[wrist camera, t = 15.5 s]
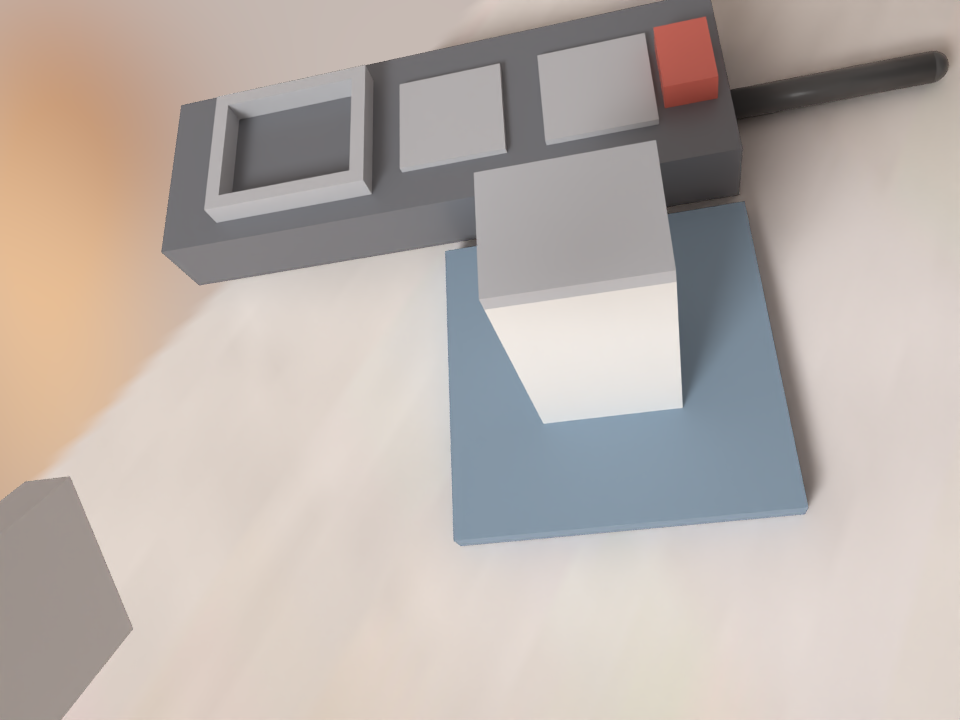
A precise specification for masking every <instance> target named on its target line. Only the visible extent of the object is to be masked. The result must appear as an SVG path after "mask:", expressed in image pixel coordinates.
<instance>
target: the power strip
mask: <svg viewBox="0 0 960 720" xmlns="http://www.w3.org/2000/svg"><path fill="white" fill-rule="evenodd" d="M948 65H949V64H948V59H947V57H946V56H945V55H944V54H943V53H941V52H938V51H930V52H924V53H919V54H914V55H909V56H904V57H898V58H893V59H888V60H883V61H878V62H873V63H867V64H862V65H857V66H852V67H847V68H841V69H836V70H831V71H826V72H821V73H816V74H810V75H805V76H800V77H795V78H790V79H784V80H779V81H774V82H769V83H764V84H758V85H753V86H748V87H743V88H738V89H733V90H730V88H729V83H728V78H727V74H726V69H725V64H724V60H723V55H722V50H721V45H720V41H719V36H718V31H717V27H716V22H715V17H714V13H713V8H712V3H711V0H664V1H660V2H655V3H651V4H646V5H641V6H637V7H632V8H628V9H623V10H618V11H614V12H609V13H605V14H600V15H595V16H591V17H586V18H581V19H577V20H572V21H568V22H563V23H558V24H554V25H549V26H545V27H540V28H535V29H531V30H526V31H522V32H517V33H512V34H508V35H503V36H499V37H494V38H489V39H485V40H480V41H476V42H471V43H466V44H462V45H457V46H452V47H448V48H443V49H439V50H434V51H429V52H425V53H420V54H416V55H412V56H406V57H402V58H397V59H393V60H388V61H384V62H379V63H374V64H370V65H362V66H358V67H353V68H349V69H344V70H339V71H335V72H330V73H326V74H321V75H316V76H312V77H307V78H303V79H298V80H294V81H289V82H284V83H280V84H275V85H270V86H266V87H261V88H256V89H252V90H247V91H243V92H239V93H233V94H229V95H224V96H219V97H217V98H213V99H208V100H204V101H199V102H195V103H190V104H185V105H182V106H181V112H180V119H179V127H178V134H177V141H176V148H175V156H174V163H173V170H172V178H171V185H170V193H169V200H168V207H167V215H166V222H165V230H164V237H163V244H162V253H163V254H164V255H165V256H166V257H167V258H169V259H170V260H171V261H172V262H173V263H174V264H175V265H177V266H178V267H179V268H180V269H181V270H182V271H183V272H185V273H186V274H187V275H188V276H189V277H190V278H191V279H193V280H194V281H195V282H196V283H197V284H198V285H204V284H210V283H216V282H222V281H228V280H234V279H240V278H246V277H252V276H258V275H264V274H270V273H276V272H281V271H287V270H293V269H299V268H305V267H311V266H317V265H323V264H329V263H335V262H341V261H347V260H353V259H359V258H365V257H371V256H377V255H383V254H389V253H394V252H400V251H406V250H412V249H418V248H424V247H430V246H436V245H442V244H448V243H454V242H460V241H466V240H472V239H476V216H475V191H474V173H475V172H480V171H486V170H491V169H497V168H503V167H508V166H514V165H519V164H525V163H530V162H536V161H542V160H547V159H553V158H558V157H564V156H569V155H575V154H581V153H586V152H592V151H597V150H603V149H608V148H614V147H620V146H625V145H631V144H636V143H642V142H648V141H653V140H656V144H657V150H658V157H659V163H660V170H661V176H662V183H663V189H664V196H665V202H666V207H668V206H674V205H680V204H686V203H692V202H698V201H704V200H710V199H716V198H722V197H728V196H733V195H739V188H740V175H741V162H742V149H743V148H742V144H741V139H740V134H739V130H738V125H737V120H736V119H740V118H745V117H751V116H756V115H761V114H767V113H772V112H778V111H783V110H788V109H794V108H799V107H804V106H810V105H815V104H821V103H826V102H831V101H837V100H842V99H848V98H853V97H858V96H864V95H869V94H874V93H880V92H885V91H891V90H896V89H901V88H907V87H912V86H917V85H923V84H928V83H933V82H936V81H938V80H940V79H941V78H942V77H943V76H944V75H945V74H946V72H947V70H948Z"/></svg>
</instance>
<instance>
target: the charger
mask: <svg viewBox="0 0 960 720" xmlns="http://www.w3.org/2000/svg"><path fill="white" fill-rule="evenodd" d="M474 191H475V216H476V241H477V266H478V291H479V301H480V303H481V304H482V306H483V308H484V310H485V312H486V314H487V316H488V318H489V320H490V322H491V324H492V326H493V328H494V330H495V331H496V333H497V335H498V337H499V339H500V341H501V343H502V345H503V347H504V349H505V351H506V353H507V355H508V356H509V358H510V360H511V362H512V364H513V366H514V368H515V370H516V372H517V374H518V376H519V378H520V380H521V381H522V383H523V385H524V387H525V389H526V391H527V393H528V395H529V397H530V399H531V401H532V403H533V405H534V407H535V408H536V410H537V412H538V414H539V416H540V418H541V420H542V422H543V424H546V423H554V422H563V421H572V420H580V419H589V418H598V417H607V416H615V415H624V414H633V413H642V412H650V411H659V410H668V409H677V408H683V403H682V383H681V362H680V342H679V322H678V302H677V281H676V267H675V261H674V254H673V248H672V241H671V235H670V228H669V222H668V215H667V209H666V202H665V196H664V189H663V183H662V176H661V170H660V163H659V157H658V150H657V144H656V140H653V141H648V142H642V143H636V144H631V145H625V146H620V147H614V148H608V149H603V150H597V151H592V152H586V153H581V154H575V155H569V156H564V157H558V158H553V159H547V160H542V161H536V162H530V163H525V164H519V165H514V166H508V167H503V168H497V169H491V170H486V171H480V172H475V173H474Z"/></svg>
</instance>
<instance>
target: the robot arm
mask: <svg viewBox="0 0 960 720" xmlns="http://www.w3.org/2000/svg"><path fill="white" fill-rule="evenodd" d="M132 630H133V627H132V625H131V622H130V620H129V617H128V615H127V612H126V610H125V608H124V605H123V603H122V600H121V598H120V596H119V593H118V591H117V588H116V586H115V584H114V581H113V579H112V576H111V574H110V572H109V569H108V567H107V564H106V562H105V559H104V557H103V555H102V552H101V550H100V547H99V545H98V543H97V540H96V538H95V535H94V533H93V531H92V528H91V526H90V523H89V521H88V519H87V516H86V514H85V511H84V509H83V506H82V504H81V502H80V499H79V497H78V494H77V492H76V490H75V487H74V485H73V482H72V480H71V478H70V477H61V478H53V479H44V480H35V481H27V482H24V483H23V484H22V485H20V486H19V487H18V488H16V489H15V490H14V491H13V492H11V493H10V494H9V495H7V496H6V497H5V498H4V499H2V500H1V501H0V720H61V719H62V718H63V717H64V716H65V714H66V713H67V712H68V710H69V709H70V708H71V707H72V705H73V704H74V703H75V702H76V700H77V699H78V698H79V697H80V695H81V694H82V693H83V692H84V690H85V689H86V688H87V686H88V685H89V684H90V683H91V681H92V680H93V679H94V678H95V676H96V675H97V674H98V673H99V671H100V670H101V669H102V667H103V666H104V665H105V664H106V662H107V661H108V660H109V659H110V657H111V656H112V655H113V654H114V652H115V651H116V650H117V649H118V647H119V646H120V645H121V643H122V642H123V641H124V640H125V638H126V637H127V636H128V635H129V633H130V632H131V631H132Z"/></svg>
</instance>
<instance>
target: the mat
mask: <svg viewBox="0 0 960 720" xmlns="http://www.w3.org/2000/svg"><path fill="white" fill-rule="evenodd" d="M667 215H668V222H669V228H670V235H671V241H672V248H673V254H674V261H675V267H676V281H677V302H678V322H679V342H680V362H681V383H682V403H683V408H677V409H668V410H659V411H650V412H642V413H633V414H624V415H615V416H607V417H598V418H589V419H580V420H572V421H563V422H554V423H546V424H543V422H542V420H541V418H540V416H539V414H538V412H537V410H536V408H535V407H534V405H533V403H532V401H531V399H530V397H529V395H528V393H527V391H526V389H525V387H524V385H523V383H522V381H521V380H520V378H519V376H518V374H517V372H516V370H515V368H514V366H513V364H512V362H511V360H510V358H509V356H508V355H507V353H506V351H505V349H504V347H503V345H502V343H501V341H500V339H499V337H498V335H497V333H496V331H495V330H494V328H493V326H492V324H491V322H490V320H489V318H488V316H487V314H486V312H485V310H484V308H483V306H482V304H481V303H480V301H479V291H478V266H477V246H473V247H467V248H461V249H455V250H449V251H445V259H446V294H447V328H448V363H449V398H450V432H451V467H452V502H453V536H454V541H455V542H456V543H458V544H459V545H460V546H466V545H476V544H487V543H498V542H509V541H520V540H531V539H541V538H552V537H563V536H574V535H585V534H595V533H606V532H617V531H628V530H639V529H650V528H660V527H671V526H682V525H693V524H704V523H714V522H725V521H736V520H747V519H758V518H768V517H779V516H790V515H801V514H805V513H806V511H807V509H808V503H807V498H806V494H805V489H804V484H803V479H802V474H801V470H800V465H799V460H798V455H797V450H796V446H795V441H794V436H793V431H792V426H791V422H790V417H789V412H788V407H787V402H786V398H785V393H784V388H783V383H782V378H781V374H780V369H779V364H778V359H777V355H776V350H775V345H774V340H773V335H772V331H771V326H770V321H769V316H768V311H767V307H766V302H765V297H764V292H763V287H762V283H761V278H760V273H759V268H758V263H757V259H756V254H755V249H754V244H753V239H752V235H751V230H750V225H749V220H748V216H747V211H746V206H745V201H743V202H737V203H731V204H725V205H719V206H713V207H707V208H701V209H695V210H689V211H683V212H677V213H671V214H667Z"/></svg>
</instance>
